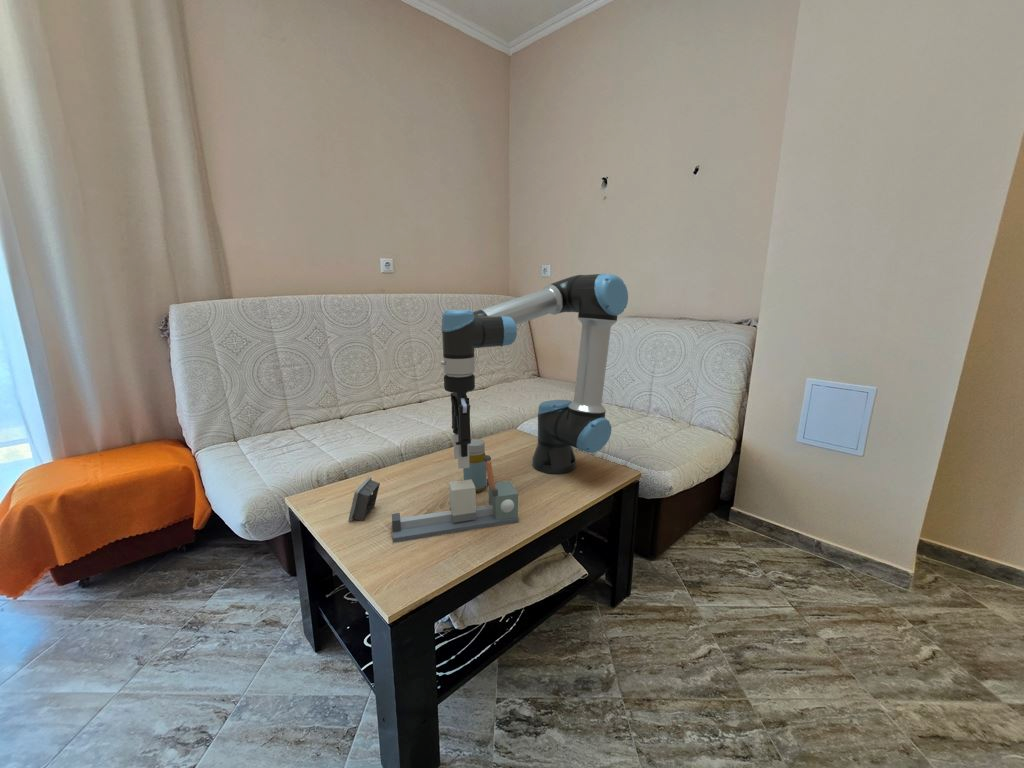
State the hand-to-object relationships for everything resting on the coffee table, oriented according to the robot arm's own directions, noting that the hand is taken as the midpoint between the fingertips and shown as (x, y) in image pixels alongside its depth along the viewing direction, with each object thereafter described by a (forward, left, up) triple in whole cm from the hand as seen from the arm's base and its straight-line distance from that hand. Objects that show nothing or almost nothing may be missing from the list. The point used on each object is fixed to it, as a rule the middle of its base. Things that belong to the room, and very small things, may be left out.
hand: (461, 462), depth 107 cm
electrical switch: (+25, -12, -17) cm, 33 cm away
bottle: (-7, -18, -17) cm, 26 cm away
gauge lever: (-8, 0, -8) cm, 12 cm away
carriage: (0, 0, -15) cm, 15 cm away
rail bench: (+2, 0, -17) cm, 17 cm away
